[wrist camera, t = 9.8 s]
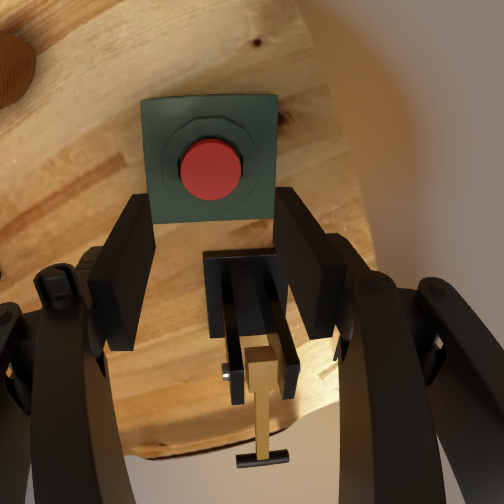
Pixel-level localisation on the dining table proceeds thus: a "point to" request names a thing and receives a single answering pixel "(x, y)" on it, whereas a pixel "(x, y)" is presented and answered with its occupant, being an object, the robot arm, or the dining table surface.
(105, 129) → the dining table surface
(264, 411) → the switch lever
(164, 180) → the button housing
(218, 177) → the button
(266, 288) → the switch bracket
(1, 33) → the disposable coffee cup
